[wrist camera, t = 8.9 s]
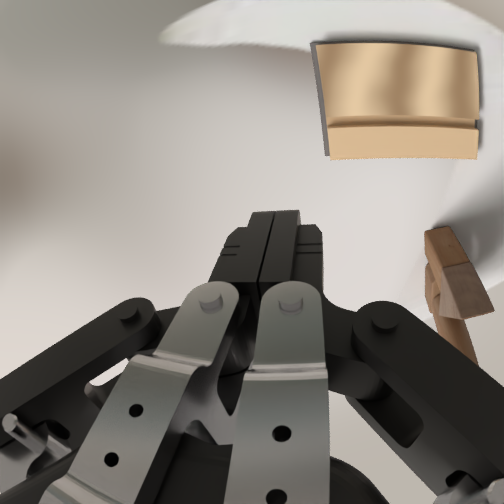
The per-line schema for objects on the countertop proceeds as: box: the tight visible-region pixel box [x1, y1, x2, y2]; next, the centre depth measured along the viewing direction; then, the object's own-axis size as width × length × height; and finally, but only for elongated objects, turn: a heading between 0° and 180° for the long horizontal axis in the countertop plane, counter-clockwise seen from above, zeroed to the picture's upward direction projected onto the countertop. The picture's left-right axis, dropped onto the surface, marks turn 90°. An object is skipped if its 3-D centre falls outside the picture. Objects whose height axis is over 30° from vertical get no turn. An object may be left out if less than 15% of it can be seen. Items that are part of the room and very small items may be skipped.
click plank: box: [316, 43, 479, 120], centre depth 23 cm, size 16×7×1 cm, turn 100°
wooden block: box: [424, 226, 494, 366], centre depth 28 cm, size 4×11×18 cm, turn 20°
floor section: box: [310, 41, 479, 160], centre depth 24 cm, size 17×12×2 cm
